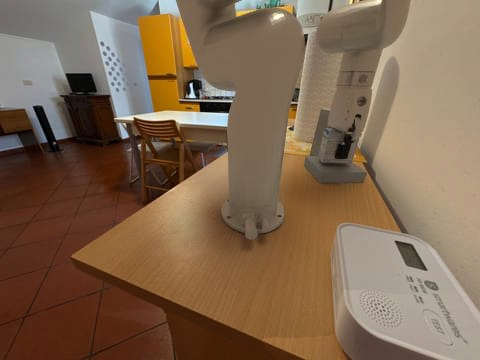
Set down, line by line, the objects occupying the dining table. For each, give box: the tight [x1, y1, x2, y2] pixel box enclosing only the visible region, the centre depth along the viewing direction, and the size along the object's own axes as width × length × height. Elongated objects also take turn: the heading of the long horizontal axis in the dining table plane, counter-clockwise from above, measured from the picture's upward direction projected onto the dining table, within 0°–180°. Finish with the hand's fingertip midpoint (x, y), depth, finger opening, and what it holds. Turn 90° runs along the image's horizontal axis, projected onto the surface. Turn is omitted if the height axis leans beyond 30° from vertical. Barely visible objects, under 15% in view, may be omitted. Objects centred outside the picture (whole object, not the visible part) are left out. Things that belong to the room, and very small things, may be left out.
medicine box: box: [318, 128, 360, 164], centre depth 52 cm, size 8×4×9 cm, turn 84°
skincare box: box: [309, 107, 331, 156], centre depth 65 cm, size 8×7×16 cm
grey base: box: [303, 155, 368, 184], centre depth 56 cm, size 12×12×3 cm
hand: (335, 154), depth 53 cm, fingers closed on medicine box, 4 cm apart
